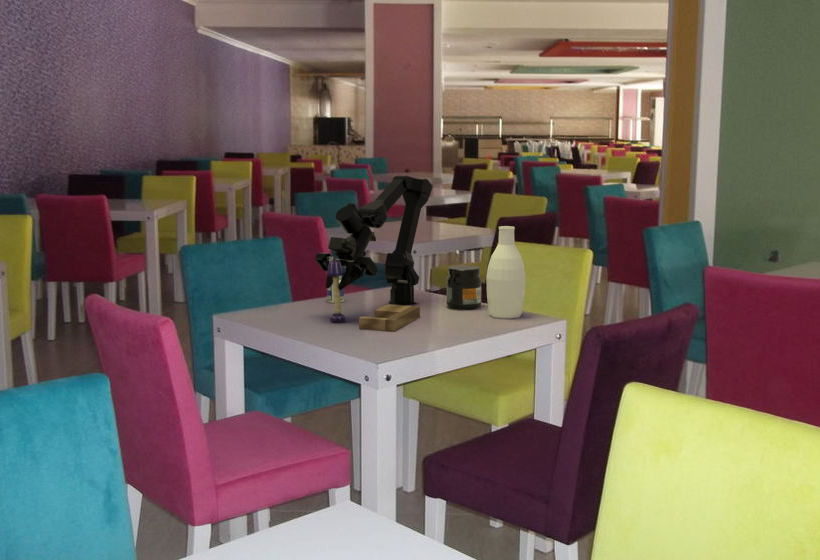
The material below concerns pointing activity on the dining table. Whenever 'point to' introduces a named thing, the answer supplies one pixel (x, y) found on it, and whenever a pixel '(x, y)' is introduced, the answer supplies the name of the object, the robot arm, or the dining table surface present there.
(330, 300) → the pill bottle
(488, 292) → the bottle
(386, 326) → the notched board
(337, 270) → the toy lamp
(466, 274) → the supplement container
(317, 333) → the dining table surface
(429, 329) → the dining table surface
